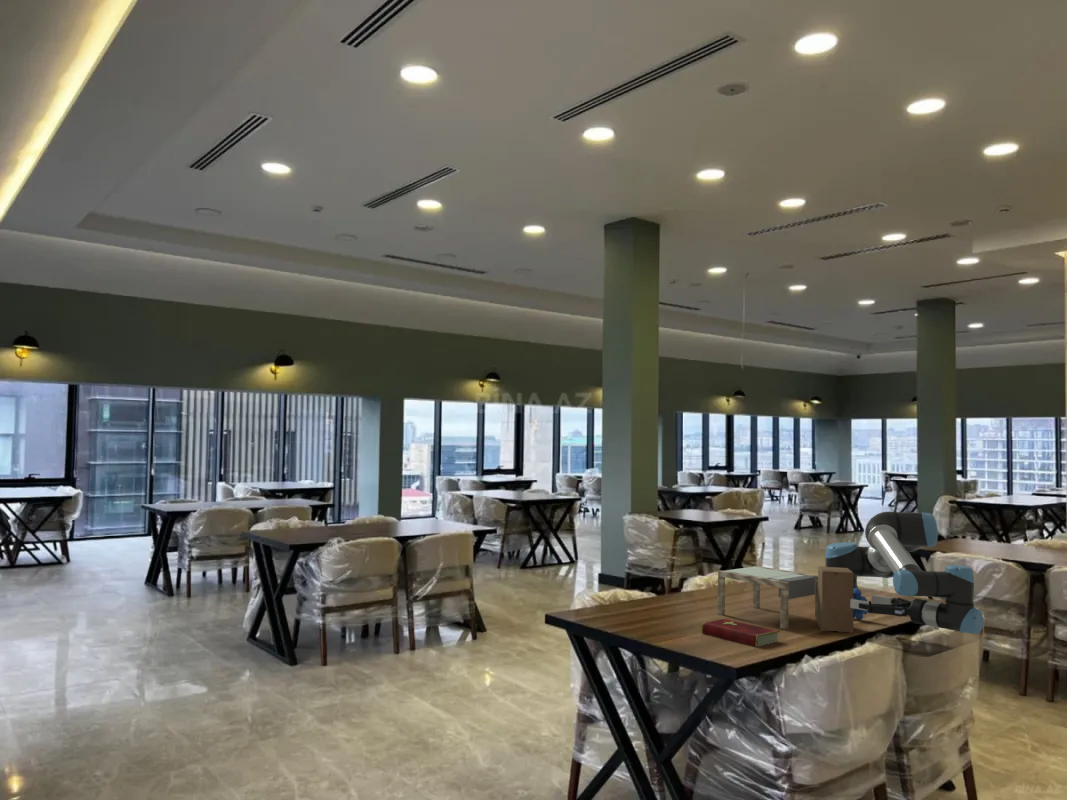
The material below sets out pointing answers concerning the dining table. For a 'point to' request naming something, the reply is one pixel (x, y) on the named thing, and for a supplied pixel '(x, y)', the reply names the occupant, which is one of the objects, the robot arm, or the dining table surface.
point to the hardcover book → (740, 632)
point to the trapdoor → (797, 583)
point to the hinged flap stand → (756, 592)
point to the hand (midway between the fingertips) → (861, 601)
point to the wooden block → (835, 599)
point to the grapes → (857, 596)
